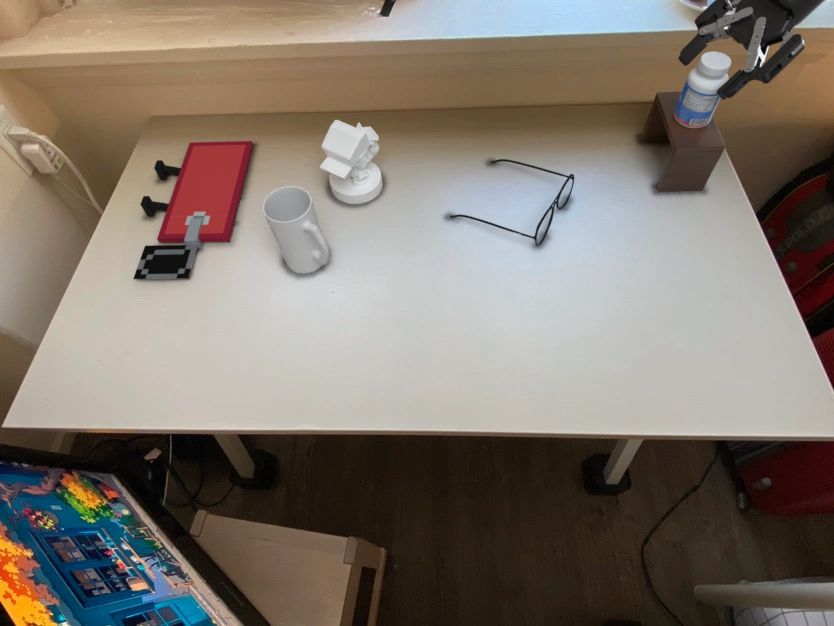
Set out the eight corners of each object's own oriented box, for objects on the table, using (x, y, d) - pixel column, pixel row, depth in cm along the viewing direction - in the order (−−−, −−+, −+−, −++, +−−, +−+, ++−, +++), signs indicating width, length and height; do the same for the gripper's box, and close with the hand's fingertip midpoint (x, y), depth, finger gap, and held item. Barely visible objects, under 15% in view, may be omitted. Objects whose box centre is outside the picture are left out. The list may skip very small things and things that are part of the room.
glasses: (535, 253, 84) (536, 230, 80) (450, 225, 90) (447, 202, 86) (573, 192, 90) (576, 168, 86) (491, 169, 96) (490, 146, 92)
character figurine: (392, 179, 94) (385, 120, 84) (358, 215, 90) (347, 158, 80) (351, 160, 97) (339, 102, 87) (316, 195, 93) (300, 137, 83)
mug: (275, 259, 86) (252, 206, 76) (307, 233, 89) (289, 178, 79) (319, 294, 82) (300, 243, 72) (351, 266, 85) (338, 212, 75)
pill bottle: (685, 101, 87) (709, 43, 79) (716, 116, 85) (745, 58, 77) (665, 119, 85) (688, 60, 77) (697, 135, 83) (724, 76, 75)
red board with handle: (123, 283, 85) (221, 281, 84) (114, 271, 83) (215, 270, 82) (172, 149, 101) (254, 147, 101) (165, 136, 99) (249, 134, 98)
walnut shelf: (702, 190, 89) (725, 146, 82) (657, 192, 90) (677, 148, 82) (681, 135, 96) (701, 90, 89) (640, 137, 96) (656, 92, 89)
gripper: (764, -68, 72) (659, 39, 80) (848, -16, 65) (725, 97, 73) (777, -35, 77) (678, 63, 85) (857, 17, 70) (741, 119, 78)
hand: (700, 79), depth 79 cm, fingers open, 8 cm apart
